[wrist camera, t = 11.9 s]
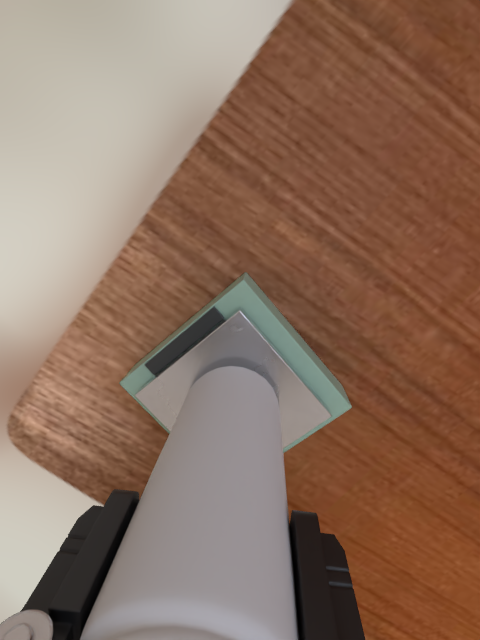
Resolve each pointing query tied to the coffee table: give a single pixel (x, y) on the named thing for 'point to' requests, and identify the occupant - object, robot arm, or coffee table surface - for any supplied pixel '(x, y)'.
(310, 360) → the scale
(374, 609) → the coffee table surface
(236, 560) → the beverage can
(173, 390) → the scale pan
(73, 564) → the robot arm
